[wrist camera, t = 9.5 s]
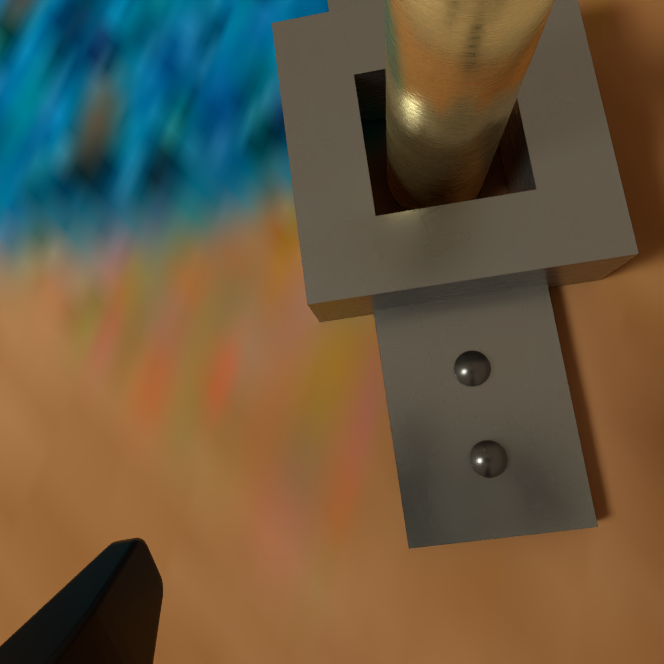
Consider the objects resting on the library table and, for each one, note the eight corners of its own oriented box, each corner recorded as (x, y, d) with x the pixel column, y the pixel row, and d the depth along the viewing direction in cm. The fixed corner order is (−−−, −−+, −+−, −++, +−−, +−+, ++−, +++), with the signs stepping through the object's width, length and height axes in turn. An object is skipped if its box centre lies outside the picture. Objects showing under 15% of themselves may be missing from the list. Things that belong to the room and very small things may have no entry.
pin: (520, 186, 20) (772, -276, 7) (419, 251, 20) (474, -82, 7) (450, 97, 21) (555, -466, 8) (354, 160, 21) (291, -295, 8)
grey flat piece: (654, 516, 18) (706, 534, 15) (349, 551, 19) (341, 575, 16) (504, -144, 22) (522, -230, 19) (266, -92, 23) (247, -167, 20)
